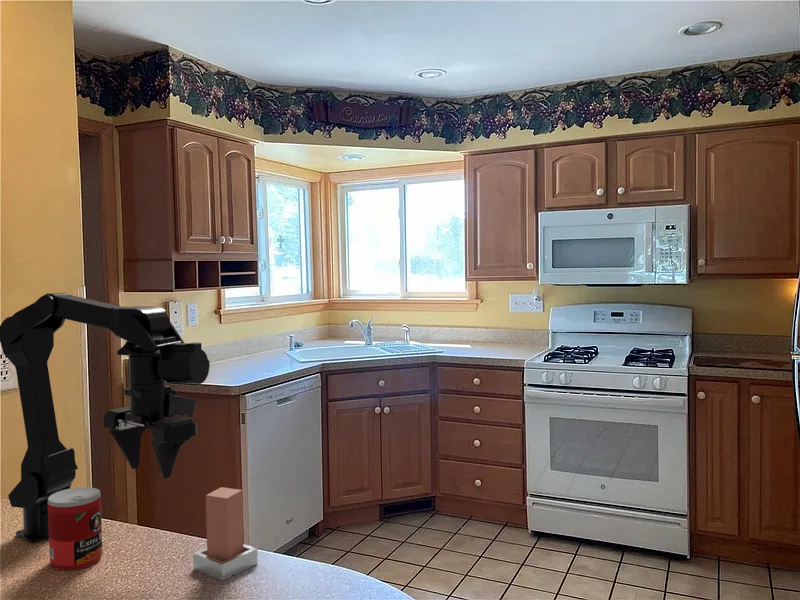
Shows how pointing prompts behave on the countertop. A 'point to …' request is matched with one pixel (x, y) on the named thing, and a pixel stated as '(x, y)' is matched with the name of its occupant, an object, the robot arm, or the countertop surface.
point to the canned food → (75, 528)
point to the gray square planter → (225, 563)
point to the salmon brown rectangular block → (224, 523)
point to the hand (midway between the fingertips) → (150, 473)
